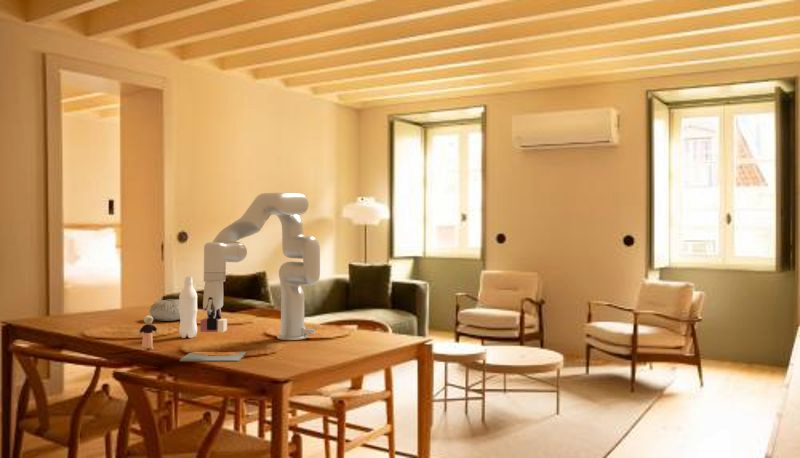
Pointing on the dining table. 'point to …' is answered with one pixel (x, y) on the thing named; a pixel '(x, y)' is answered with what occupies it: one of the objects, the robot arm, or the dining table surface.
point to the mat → (212, 357)
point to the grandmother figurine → (147, 333)
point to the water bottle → (188, 310)
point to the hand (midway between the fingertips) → (213, 328)
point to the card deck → (220, 325)
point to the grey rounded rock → (166, 310)
